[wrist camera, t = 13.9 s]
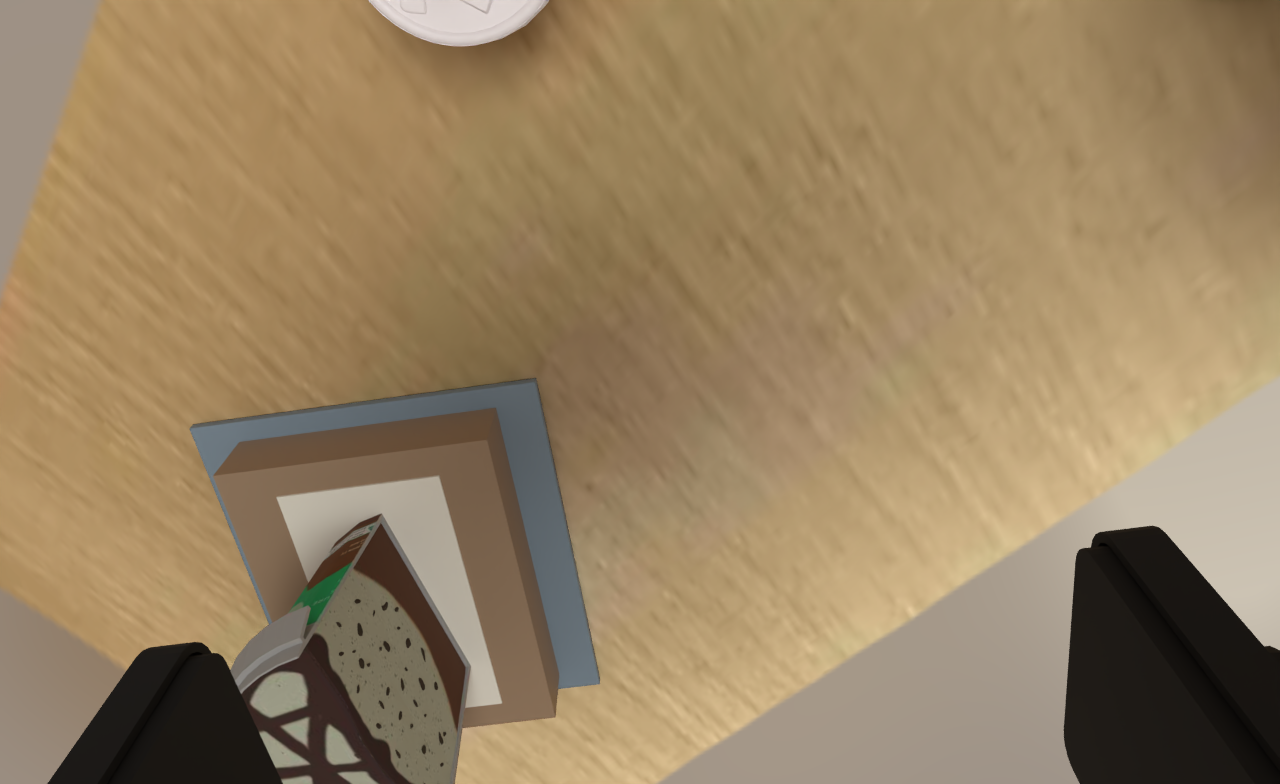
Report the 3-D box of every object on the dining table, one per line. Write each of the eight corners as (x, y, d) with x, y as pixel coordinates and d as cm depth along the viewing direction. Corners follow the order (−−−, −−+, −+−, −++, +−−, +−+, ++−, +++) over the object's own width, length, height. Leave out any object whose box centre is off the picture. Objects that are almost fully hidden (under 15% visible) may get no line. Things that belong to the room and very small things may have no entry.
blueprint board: (536, 378, 41) (528, 413, 38) (599, 678, 49) (598, 728, 46) (193, 424, 42) (158, 463, 39) (310, 712, 50) (288, 764, 47)
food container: (240, 527, 40) (130, 694, 32) (365, 485, 40) (289, 644, 31) (370, 720, 46) (307, 912, 37) (484, 687, 45) (447, 874, 36)
